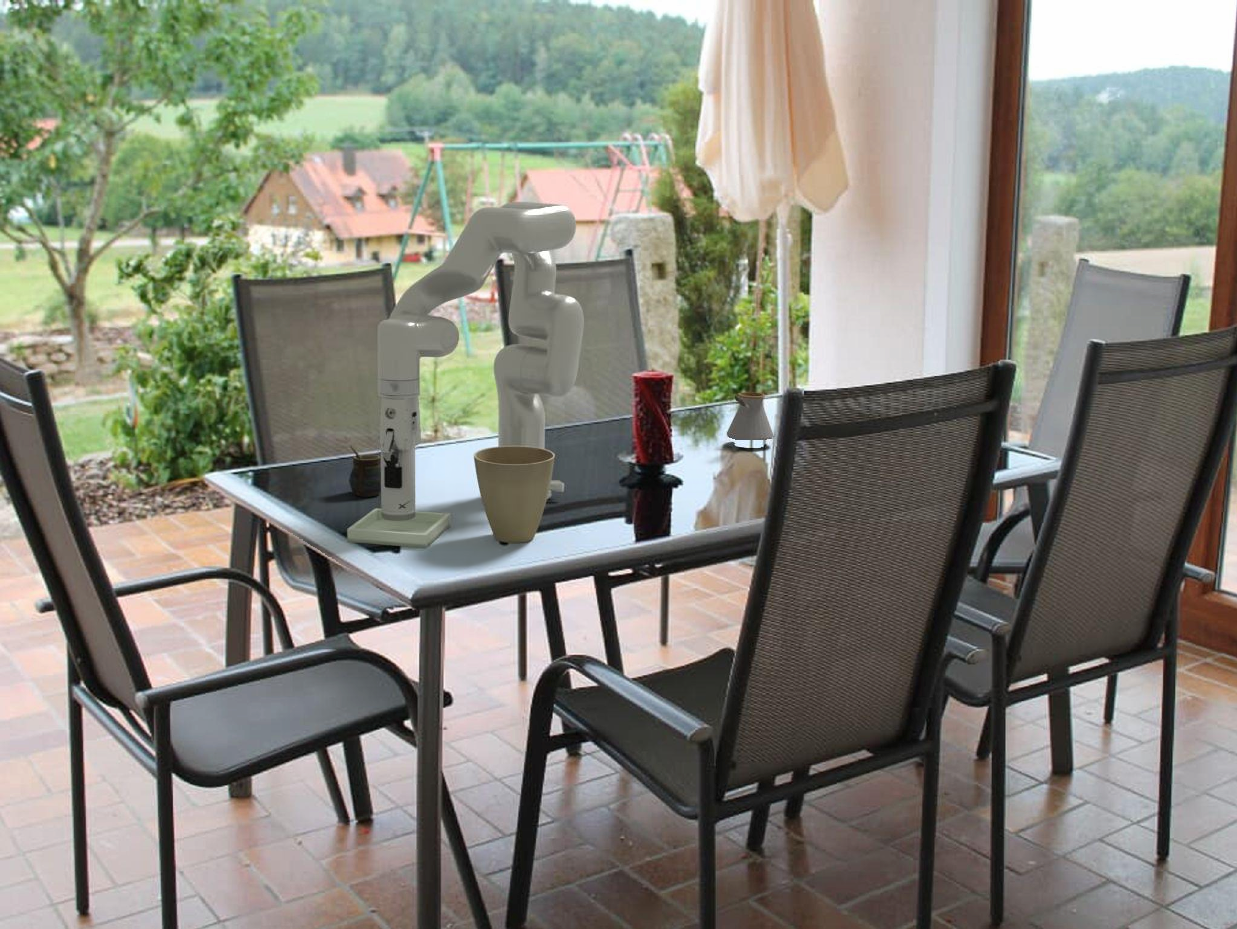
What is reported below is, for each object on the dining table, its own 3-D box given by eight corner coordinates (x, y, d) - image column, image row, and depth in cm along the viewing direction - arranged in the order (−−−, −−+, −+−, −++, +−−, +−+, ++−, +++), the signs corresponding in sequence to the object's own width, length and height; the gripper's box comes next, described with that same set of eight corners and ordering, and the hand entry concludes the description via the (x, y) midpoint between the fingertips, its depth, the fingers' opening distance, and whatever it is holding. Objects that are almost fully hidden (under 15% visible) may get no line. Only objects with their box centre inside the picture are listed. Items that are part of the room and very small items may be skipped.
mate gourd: (377, 500, 284) (377, 452, 281) (342, 497, 285) (341, 449, 283) (389, 491, 291) (389, 444, 288) (355, 489, 292) (354, 442, 290)
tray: (450, 526, 266) (450, 513, 266) (426, 547, 252) (426, 535, 251) (375, 520, 269) (375, 508, 268) (347, 541, 254) (347, 529, 254)
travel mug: (410, 522, 256) (409, 415, 251) (376, 519, 257) (375, 413, 253) (421, 514, 262) (421, 409, 257) (388, 511, 263) (387, 407, 259)
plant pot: (482, 524, 268) (482, 443, 264) (558, 529, 266) (560, 447, 263) (465, 546, 253) (466, 461, 250) (546, 551, 252) (548, 465, 248)
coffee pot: (733, 439, 351) (736, 380, 347) (777, 443, 347) (781, 384, 343) (708, 456, 331) (711, 393, 328) (755, 461, 327) (758, 398, 324)
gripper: (403, 396, 245) (404, 496, 249) (433, 381, 262) (433, 474, 266) (362, 394, 246) (363, 493, 250) (394, 378, 263) (395, 471, 267)
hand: (399, 482), depth 258 cm, fingers closed on travel mug, 6 cm apart
